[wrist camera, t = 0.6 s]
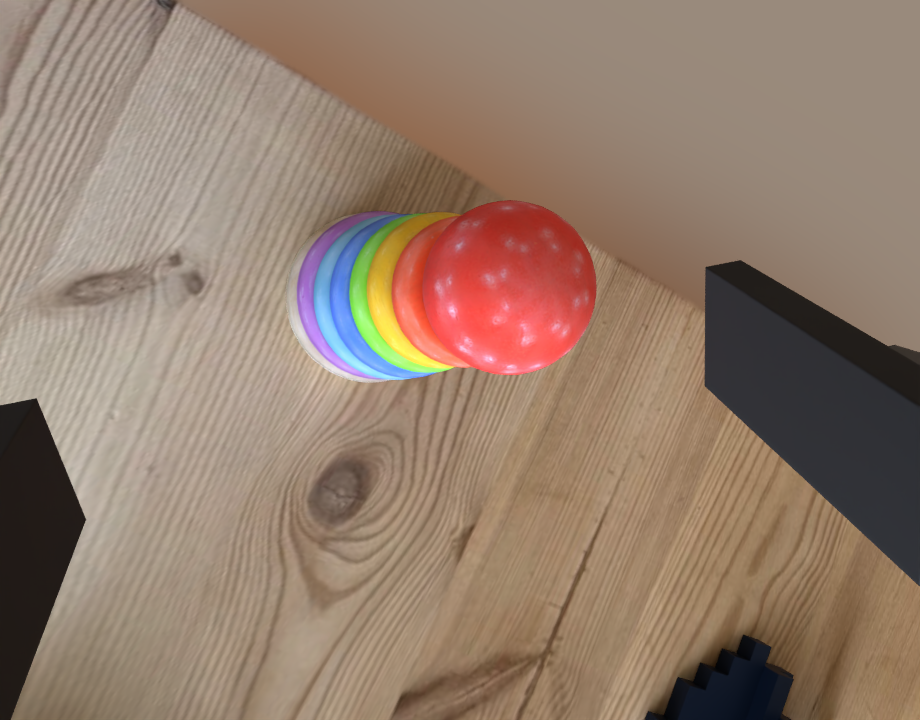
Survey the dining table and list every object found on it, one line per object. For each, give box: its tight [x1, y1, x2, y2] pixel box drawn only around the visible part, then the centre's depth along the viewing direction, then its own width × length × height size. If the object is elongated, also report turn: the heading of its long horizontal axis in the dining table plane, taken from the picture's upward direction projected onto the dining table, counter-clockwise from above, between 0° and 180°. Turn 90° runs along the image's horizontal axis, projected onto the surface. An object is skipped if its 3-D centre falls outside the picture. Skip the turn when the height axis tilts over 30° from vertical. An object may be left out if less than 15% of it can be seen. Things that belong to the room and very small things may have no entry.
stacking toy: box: [286, 200, 596, 382], centre depth 30 cm, size 8×8×19 cm
